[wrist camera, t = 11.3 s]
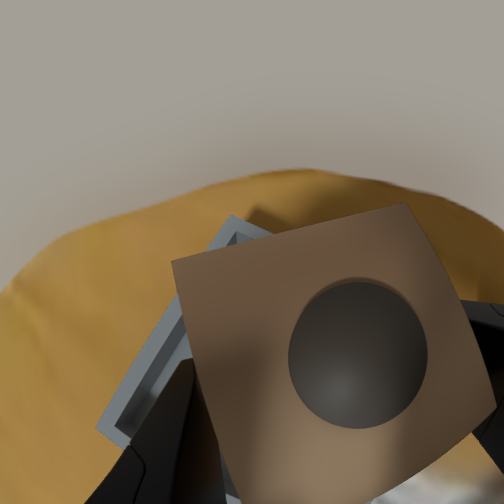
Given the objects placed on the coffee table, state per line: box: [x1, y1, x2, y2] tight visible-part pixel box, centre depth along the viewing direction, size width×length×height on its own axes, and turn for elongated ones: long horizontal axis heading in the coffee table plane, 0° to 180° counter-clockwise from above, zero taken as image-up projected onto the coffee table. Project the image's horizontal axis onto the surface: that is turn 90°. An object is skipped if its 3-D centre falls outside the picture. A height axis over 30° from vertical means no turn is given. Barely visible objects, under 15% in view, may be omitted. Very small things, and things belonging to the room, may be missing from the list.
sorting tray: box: [95, 215, 373, 504], centre depth 13 cm, size 14×14×3 cm
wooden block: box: [171, 202, 497, 504], centre depth 9 cm, size 5×5×11 cm
